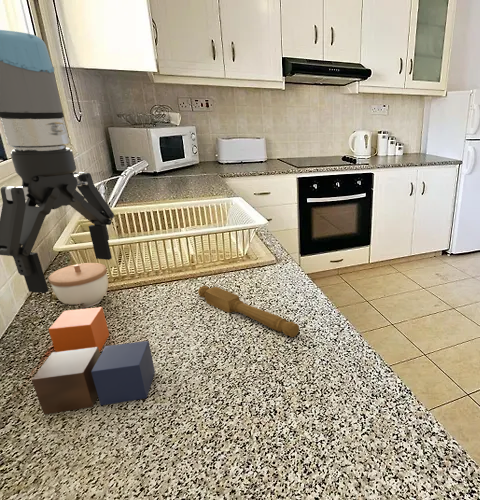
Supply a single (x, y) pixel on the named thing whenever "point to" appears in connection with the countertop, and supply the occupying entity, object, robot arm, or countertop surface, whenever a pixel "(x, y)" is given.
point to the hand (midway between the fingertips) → (74, 273)
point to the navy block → (123, 372)
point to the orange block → (79, 329)
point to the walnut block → (67, 380)
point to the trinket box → (80, 284)
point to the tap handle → (246, 309)
